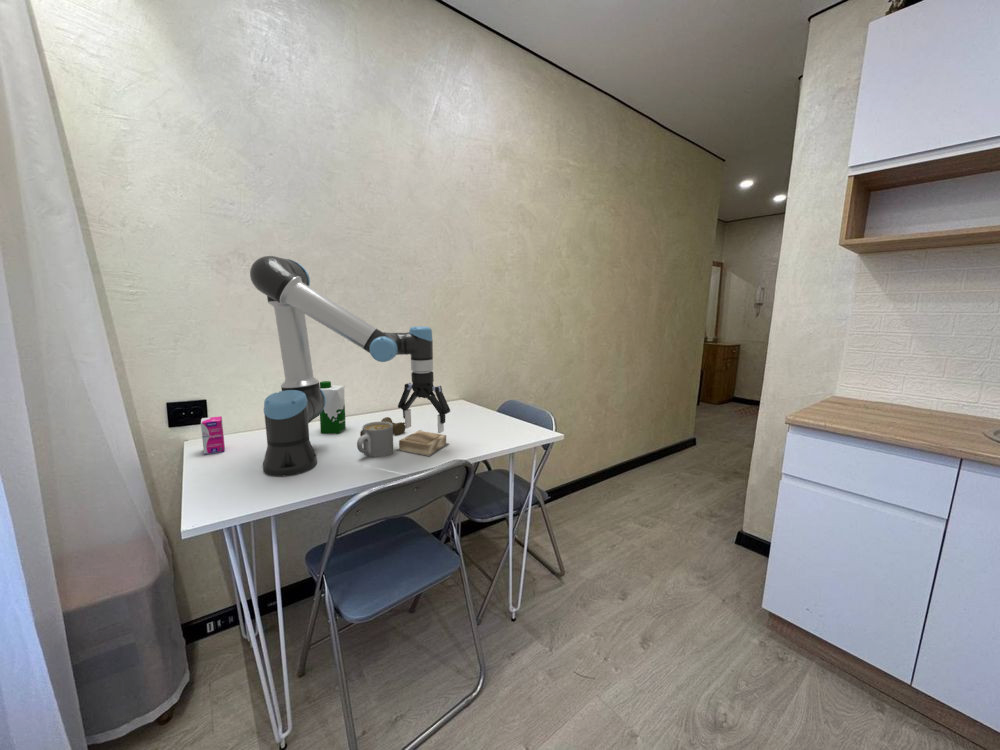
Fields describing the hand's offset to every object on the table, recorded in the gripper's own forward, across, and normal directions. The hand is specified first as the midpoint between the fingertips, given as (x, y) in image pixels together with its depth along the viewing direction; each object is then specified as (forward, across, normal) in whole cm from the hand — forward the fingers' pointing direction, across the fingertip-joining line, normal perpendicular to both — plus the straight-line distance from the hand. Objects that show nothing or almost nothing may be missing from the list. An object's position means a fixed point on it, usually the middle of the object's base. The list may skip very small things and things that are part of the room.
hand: (424, 429), depth 142 cm
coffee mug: (+7, +12, +12) cm, 19 cm away
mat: (+7, 0, 0) cm, 7 cm away
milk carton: (+7, +44, -1) cm, 44 cm away
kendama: (+7, +22, -5) cm, 23 cm away
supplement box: (+6, +63, +33) cm, 72 cm away
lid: (+7, 0, 0) cm, 7 cm away
